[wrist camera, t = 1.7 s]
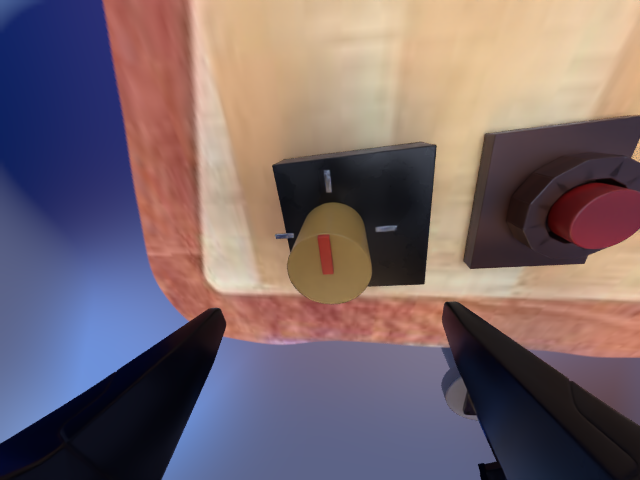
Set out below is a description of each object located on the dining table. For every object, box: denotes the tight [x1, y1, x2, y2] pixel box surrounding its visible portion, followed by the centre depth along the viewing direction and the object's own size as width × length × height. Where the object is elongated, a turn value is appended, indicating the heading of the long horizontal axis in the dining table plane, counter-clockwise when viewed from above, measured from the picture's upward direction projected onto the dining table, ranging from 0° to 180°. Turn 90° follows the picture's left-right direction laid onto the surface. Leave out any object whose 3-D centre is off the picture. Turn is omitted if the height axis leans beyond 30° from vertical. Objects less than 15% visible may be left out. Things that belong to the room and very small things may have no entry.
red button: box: [547, 183, 640, 249], centre depth 13 cm, size 4×4×2 cm
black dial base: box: [272, 142, 436, 286], centre depth 17 cm, size 10×11×3 cm
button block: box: [464, 115, 640, 269], centre depth 15 cm, size 10×8×3 cm
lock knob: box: [287, 203, 372, 304], centre depth 14 cm, size 4×4×5 cm
